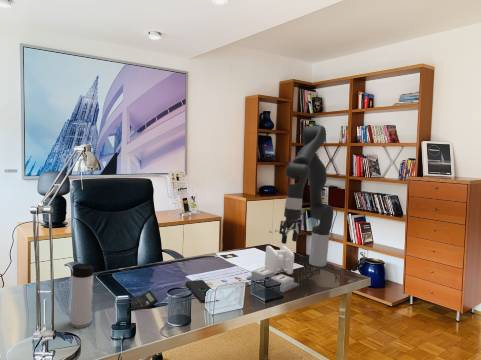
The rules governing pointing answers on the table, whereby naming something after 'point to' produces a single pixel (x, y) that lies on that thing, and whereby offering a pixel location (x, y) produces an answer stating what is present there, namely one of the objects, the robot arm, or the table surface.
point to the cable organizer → (279, 259)
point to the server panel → (274, 278)
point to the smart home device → (198, 289)
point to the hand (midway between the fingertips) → (289, 242)
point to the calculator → (143, 301)
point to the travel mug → (82, 295)
